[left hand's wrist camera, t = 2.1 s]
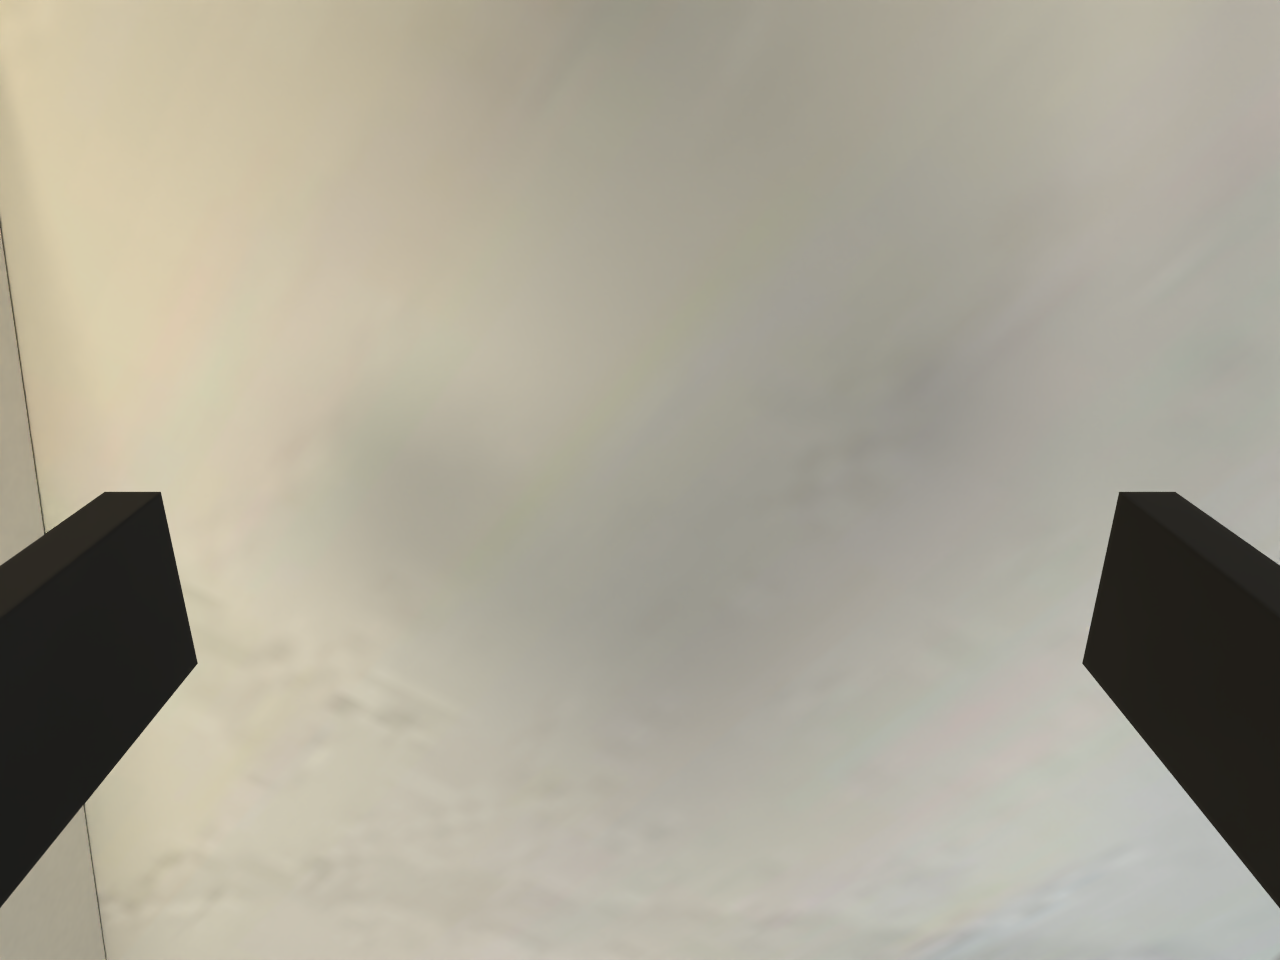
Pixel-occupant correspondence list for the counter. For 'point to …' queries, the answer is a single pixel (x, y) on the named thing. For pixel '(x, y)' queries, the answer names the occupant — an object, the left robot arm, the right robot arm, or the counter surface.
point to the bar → (63, 877)
